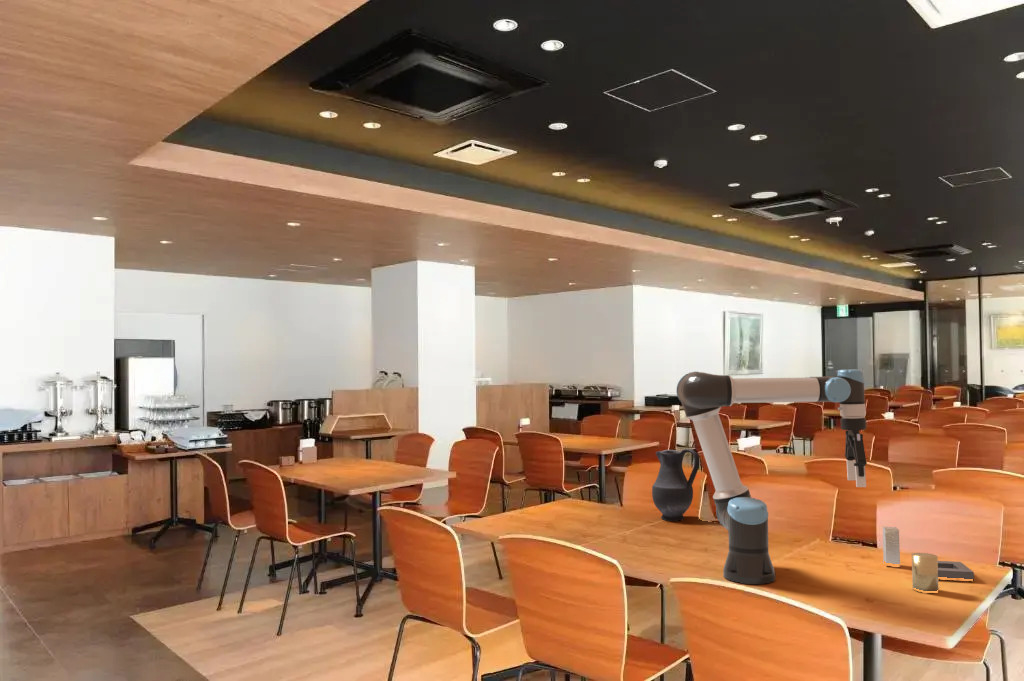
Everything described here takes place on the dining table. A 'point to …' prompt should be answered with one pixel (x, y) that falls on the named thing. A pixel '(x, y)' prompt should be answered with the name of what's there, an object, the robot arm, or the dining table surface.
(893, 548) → the square bit
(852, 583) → the dining table surface
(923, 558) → the round bit
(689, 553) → the dining table surface
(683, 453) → the pitcher
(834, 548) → the dining table surface
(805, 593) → the dining table surface
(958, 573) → the bore block
